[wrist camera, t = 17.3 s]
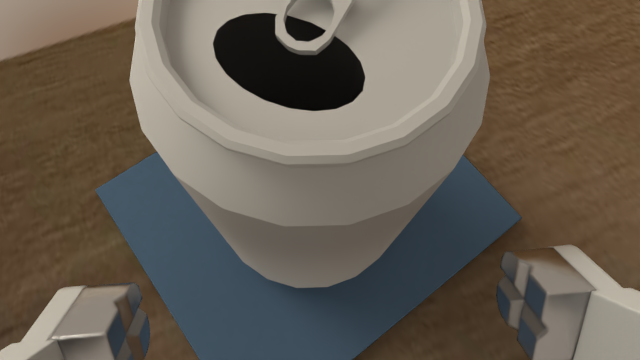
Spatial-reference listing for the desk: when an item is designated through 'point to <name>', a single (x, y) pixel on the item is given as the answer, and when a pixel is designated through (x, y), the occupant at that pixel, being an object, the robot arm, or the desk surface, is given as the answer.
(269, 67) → the can
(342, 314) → the mat
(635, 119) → the desk surface
